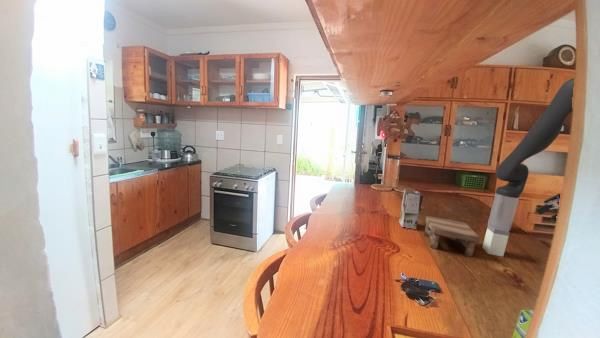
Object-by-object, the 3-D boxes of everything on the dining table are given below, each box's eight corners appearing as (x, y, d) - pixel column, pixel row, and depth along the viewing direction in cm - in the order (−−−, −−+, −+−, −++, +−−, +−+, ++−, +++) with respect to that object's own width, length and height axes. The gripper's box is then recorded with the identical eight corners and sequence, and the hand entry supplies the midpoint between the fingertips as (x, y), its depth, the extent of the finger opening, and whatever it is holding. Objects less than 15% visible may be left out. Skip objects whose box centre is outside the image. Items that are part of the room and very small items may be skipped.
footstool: (422, 233, 113) (426, 215, 111) (460, 240, 109) (465, 222, 108) (430, 248, 98) (434, 228, 97) (474, 257, 95) (479, 237, 93)
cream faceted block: (482, 247, 105) (488, 224, 103) (496, 250, 104) (502, 226, 102) (488, 253, 100) (494, 229, 98) (503, 256, 99) (509, 232, 97)
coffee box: (416, 230, 115) (423, 195, 112) (401, 227, 116) (408, 193, 114) (412, 223, 124) (418, 190, 121) (398, 220, 125) (404, 188, 122)
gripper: (570, 178, 98) (526, 202, 102) (603, 186, 84) (550, 213, 89) (583, 195, 97) (539, 218, 102) (618, 205, 84) (565, 231, 88)
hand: (544, 216), depth 95 cm, fingers open, 8 cm apart
